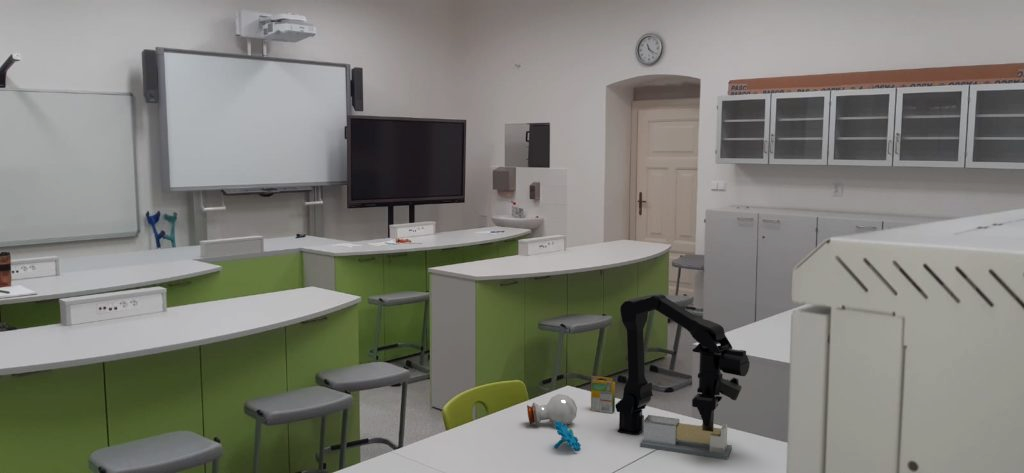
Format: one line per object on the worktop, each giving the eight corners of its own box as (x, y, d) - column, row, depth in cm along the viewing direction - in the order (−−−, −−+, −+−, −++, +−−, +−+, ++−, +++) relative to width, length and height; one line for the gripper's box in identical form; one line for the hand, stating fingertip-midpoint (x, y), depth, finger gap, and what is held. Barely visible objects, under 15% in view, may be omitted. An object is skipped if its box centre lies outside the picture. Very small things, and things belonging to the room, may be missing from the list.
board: (640, 446, 224) (640, 443, 224) (647, 436, 232) (647, 433, 232) (727, 459, 215) (727, 456, 215) (731, 448, 223) (731, 445, 223)
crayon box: (615, 411, 256) (615, 376, 255) (612, 413, 254) (613, 378, 253) (593, 408, 259) (594, 373, 258) (590, 410, 257) (591, 375, 256)
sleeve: (643, 441, 225) (644, 420, 225) (647, 435, 230) (648, 414, 230) (675, 446, 222) (675, 424, 221) (678, 440, 227) (679, 418, 226)
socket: (709, 451, 218) (710, 428, 217) (712, 444, 223) (713, 422, 223) (723, 453, 216) (724, 430, 216) (726, 446, 222) (727, 424, 221)
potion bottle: (579, 430, 242) (531, 437, 241) (573, 404, 249) (526, 410, 248) (580, 411, 236) (531, 418, 234) (574, 385, 243) (525, 392, 242)
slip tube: (668, 438, 223) (669, 408, 223) (671, 434, 227) (672, 404, 226) (719, 445, 218) (720, 414, 217) (721, 441, 221) (722, 411, 220)
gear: (578, 451, 215) (554, 422, 218) (562, 465, 216) (539, 436, 219) (586, 443, 226) (563, 416, 228) (571, 456, 227) (548, 429, 229)
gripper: (735, 381, 207) (733, 439, 209) (744, 365, 225) (742, 418, 226) (692, 376, 212) (690, 433, 213) (704, 360, 229) (702, 413, 230)
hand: (708, 424), depth 220 cm, fingers closed on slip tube, 3 cm apart
